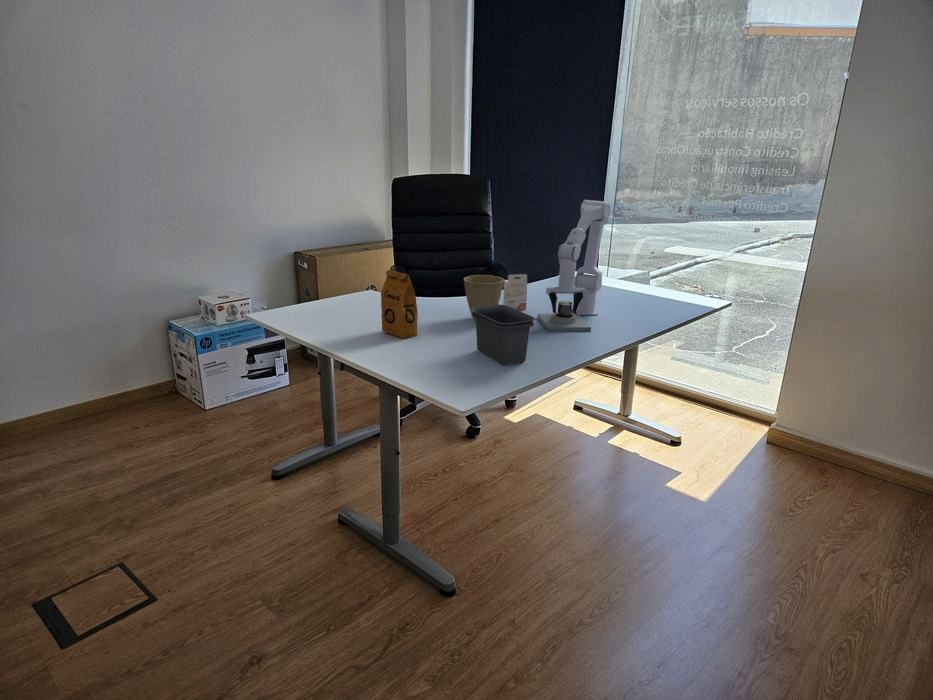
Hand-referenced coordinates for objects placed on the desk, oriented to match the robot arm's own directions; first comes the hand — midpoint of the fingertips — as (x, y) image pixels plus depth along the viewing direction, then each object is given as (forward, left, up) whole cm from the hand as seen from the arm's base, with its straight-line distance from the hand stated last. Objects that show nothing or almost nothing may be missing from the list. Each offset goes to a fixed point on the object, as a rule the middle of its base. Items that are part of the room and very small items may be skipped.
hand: (564, 312), depth 225 cm
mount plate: (0, 0, -5) cm, 5 cm away
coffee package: (+11, -61, -5) cm, 62 cm away
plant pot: (-6, -30, -5) cm, 31 cm away
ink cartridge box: (-22, -15, -5) cm, 27 cm away
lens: (0, 0, -3) cm, 3 cm away
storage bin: (+34, -28, -5) cm, 44 cm away
